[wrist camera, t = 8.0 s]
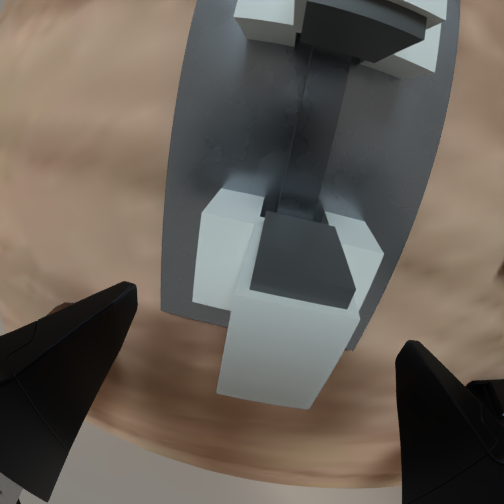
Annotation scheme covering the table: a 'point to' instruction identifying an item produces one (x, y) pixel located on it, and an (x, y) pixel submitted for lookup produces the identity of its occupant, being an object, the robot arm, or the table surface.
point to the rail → (297, 143)
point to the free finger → (281, 295)
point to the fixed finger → (353, 29)
